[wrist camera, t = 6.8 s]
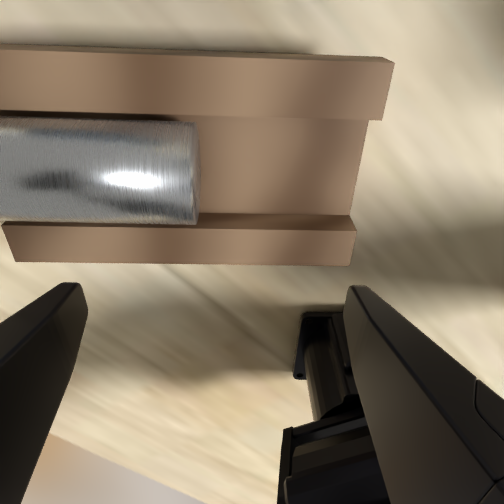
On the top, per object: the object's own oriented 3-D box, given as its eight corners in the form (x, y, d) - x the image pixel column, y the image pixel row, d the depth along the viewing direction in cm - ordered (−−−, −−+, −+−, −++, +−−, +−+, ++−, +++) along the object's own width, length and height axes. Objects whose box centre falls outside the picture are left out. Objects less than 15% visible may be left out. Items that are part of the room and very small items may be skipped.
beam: (367, 50, 16) (394, 63, 13) (334, 229, 21) (349, 266, 18) (-13, 37, 16) (-70, 47, 13) (46, 224, 21) (15, 261, 18)
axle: (199, 116, 16) (187, 129, 12) (201, 206, 18) (192, 240, 14) (-144, 105, 15) (-261, 116, 12) (-107, 199, 17) (-200, 233, 14)
